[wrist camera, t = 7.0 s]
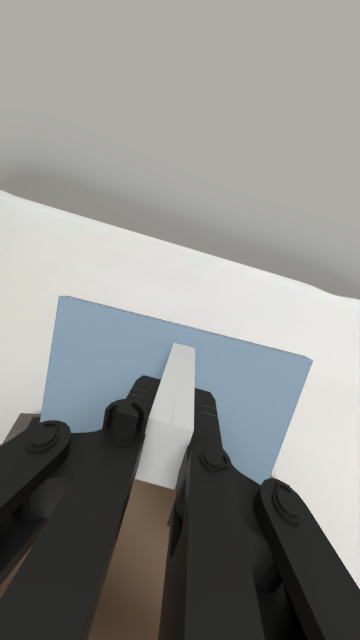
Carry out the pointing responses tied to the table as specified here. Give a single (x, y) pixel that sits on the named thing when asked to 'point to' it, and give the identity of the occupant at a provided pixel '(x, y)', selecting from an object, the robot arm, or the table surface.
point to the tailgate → (150, 360)
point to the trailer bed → (128, 561)
